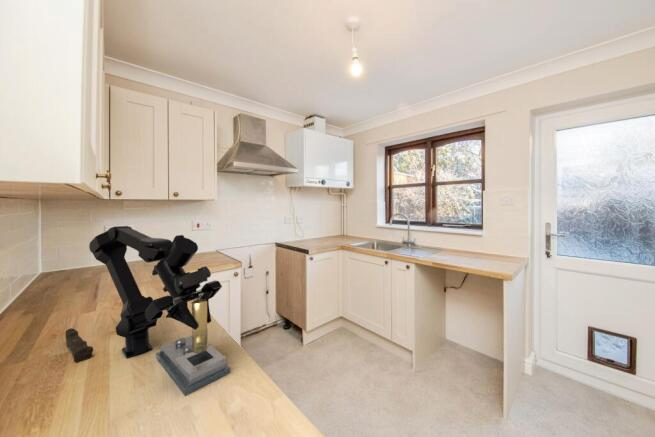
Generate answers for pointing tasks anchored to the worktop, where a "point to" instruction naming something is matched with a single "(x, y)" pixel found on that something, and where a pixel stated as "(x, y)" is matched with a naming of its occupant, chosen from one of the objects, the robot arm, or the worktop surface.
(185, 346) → the tiered gray console
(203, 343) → the pin
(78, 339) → the hand tool
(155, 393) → the worktop surface
